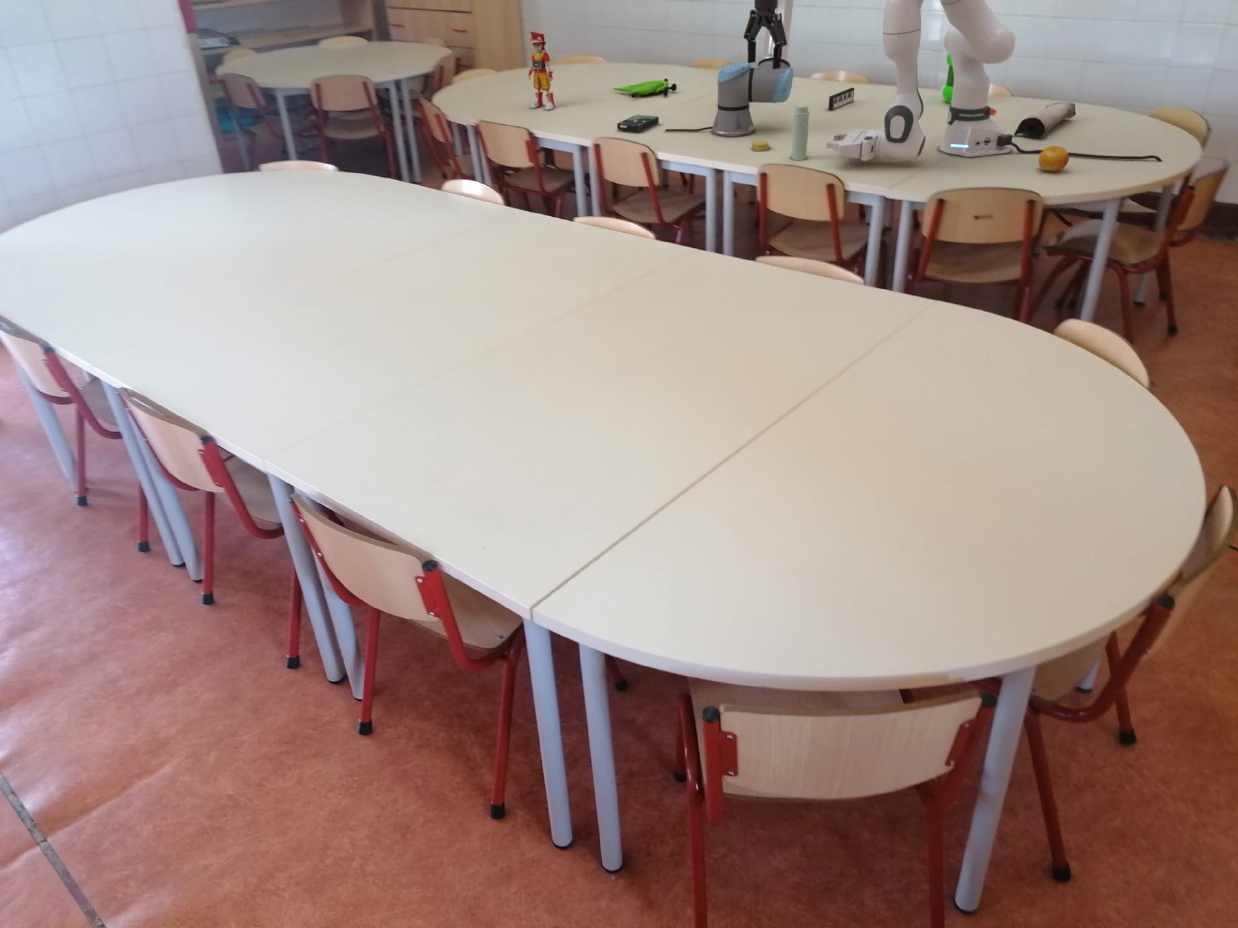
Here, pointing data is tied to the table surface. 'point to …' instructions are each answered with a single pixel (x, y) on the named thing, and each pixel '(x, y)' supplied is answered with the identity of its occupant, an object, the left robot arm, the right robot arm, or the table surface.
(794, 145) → the jar
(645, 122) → the disk drive
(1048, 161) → the fruit
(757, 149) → the lid
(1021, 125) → the rolled mat
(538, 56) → the toy
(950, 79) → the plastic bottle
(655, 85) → the toy
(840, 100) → the midi keyboard
